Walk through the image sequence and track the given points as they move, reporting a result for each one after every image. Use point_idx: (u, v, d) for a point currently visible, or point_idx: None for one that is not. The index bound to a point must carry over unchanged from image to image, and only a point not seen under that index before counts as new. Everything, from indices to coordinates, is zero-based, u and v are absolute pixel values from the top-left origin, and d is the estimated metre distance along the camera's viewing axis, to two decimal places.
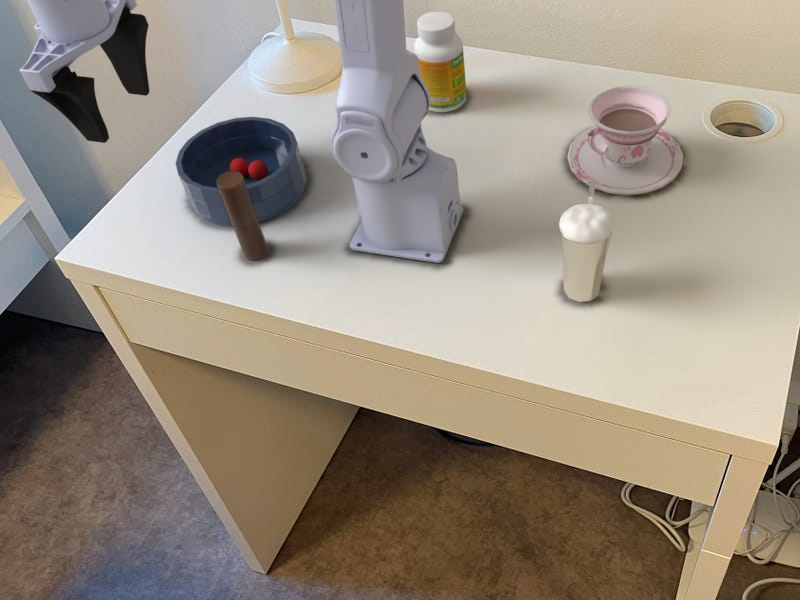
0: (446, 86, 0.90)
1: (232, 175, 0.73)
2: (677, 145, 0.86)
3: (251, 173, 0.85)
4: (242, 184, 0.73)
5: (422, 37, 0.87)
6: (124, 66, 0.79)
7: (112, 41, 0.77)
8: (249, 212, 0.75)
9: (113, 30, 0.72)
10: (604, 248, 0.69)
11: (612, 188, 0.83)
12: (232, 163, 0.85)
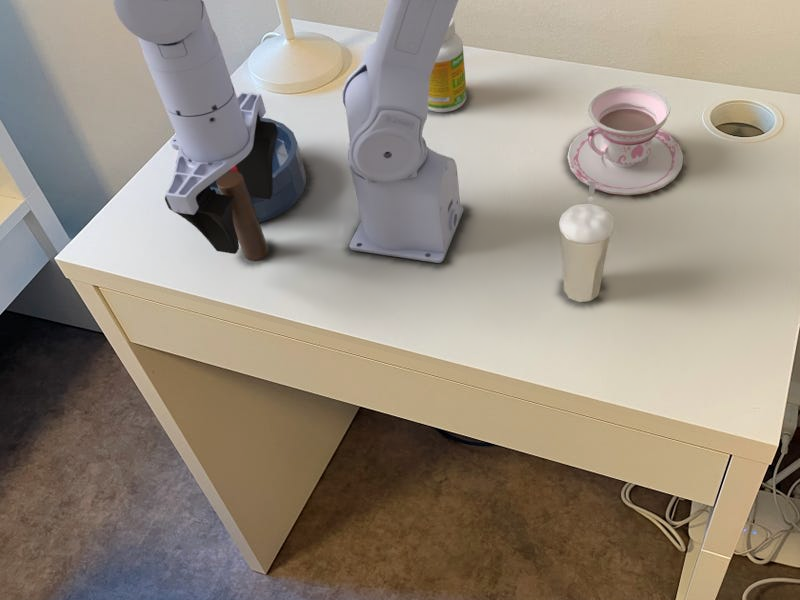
0: (446, 86, 0.90)
1: (232, 175, 0.73)
2: (677, 145, 0.86)
3: None
4: (242, 184, 0.73)
5: None
6: (250, 172, 0.77)
7: None
8: (249, 212, 0.75)
9: (252, 145, 0.70)
10: (604, 248, 0.69)
11: (612, 188, 0.83)
12: None
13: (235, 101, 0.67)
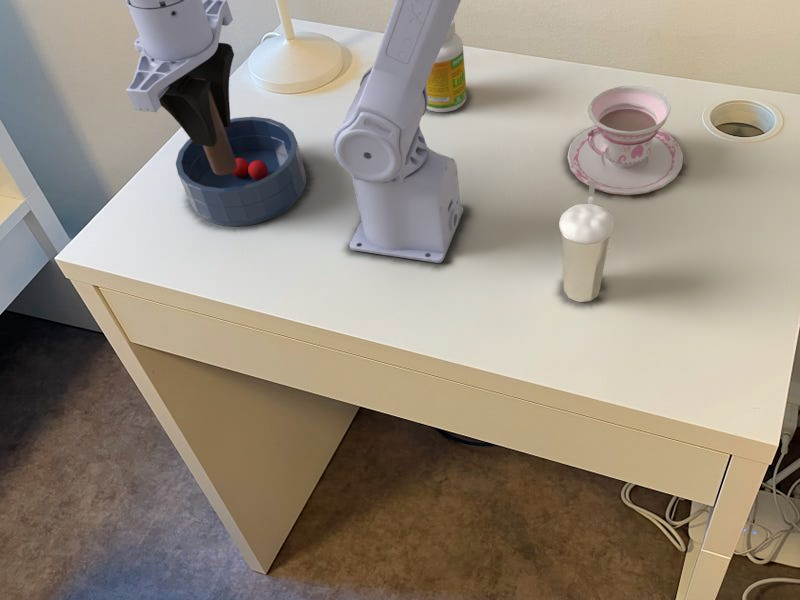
0: (446, 86, 0.90)
1: None
2: (677, 145, 0.86)
3: (251, 173, 0.85)
4: None
5: None
6: None
7: (196, 71, 0.73)
8: (216, 122, 0.74)
9: (216, 47, 0.69)
10: (604, 248, 0.69)
11: (612, 188, 0.83)
12: None
13: None
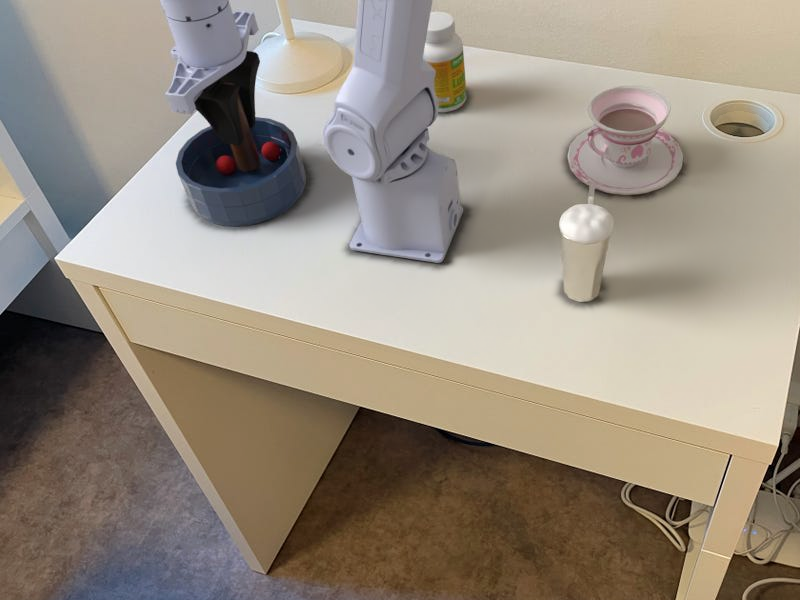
0: (446, 86, 0.90)
1: None
2: (677, 145, 0.86)
3: None
4: None
5: None
6: None
7: (225, 77, 0.80)
8: (243, 122, 0.82)
9: (245, 55, 0.77)
10: (604, 248, 0.69)
11: (612, 188, 0.83)
12: None
13: (229, 10, 0.73)
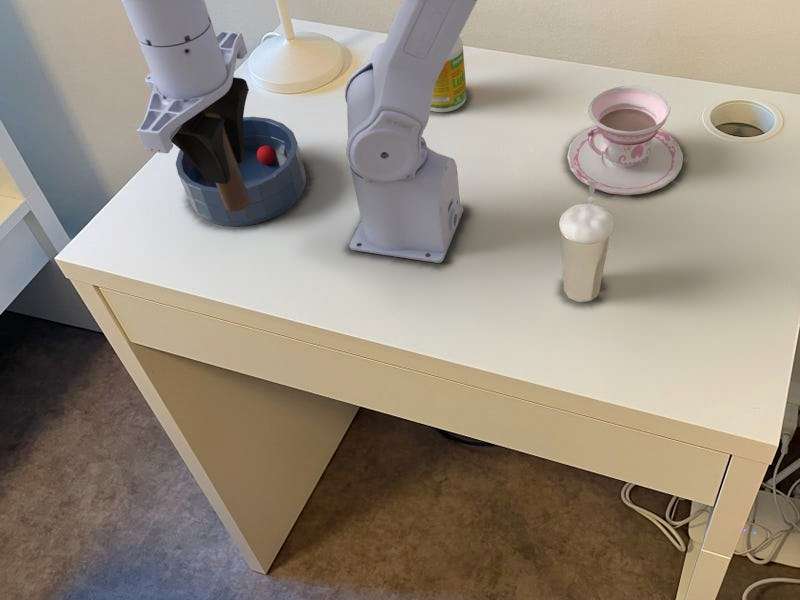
0: (446, 86, 0.90)
1: None
2: (677, 145, 0.86)
3: None
4: None
5: None
6: None
7: (209, 107, 0.70)
8: (229, 158, 0.72)
9: (231, 83, 0.66)
10: (604, 248, 0.69)
11: (612, 188, 0.83)
12: None
13: (212, 33, 0.63)
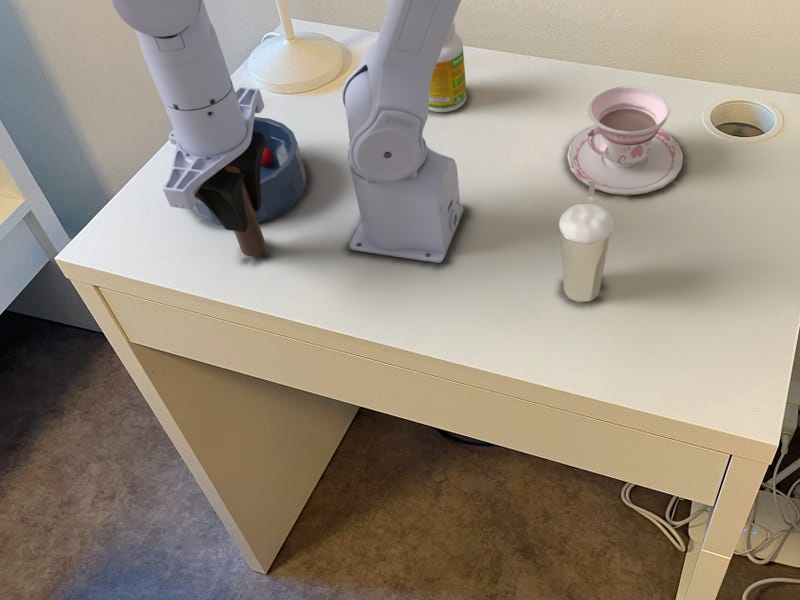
0: (446, 86, 0.90)
1: (229, 170, 0.73)
2: (677, 145, 0.86)
3: None
4: None
5: None
6: None
7: None
8: (247, 208, 0.75)
9: (250, 140, 0.70)
10: (604, 248, 0.69)
11: (612, 188, 0.83)
12: None
13: (233, 95, 0.66)
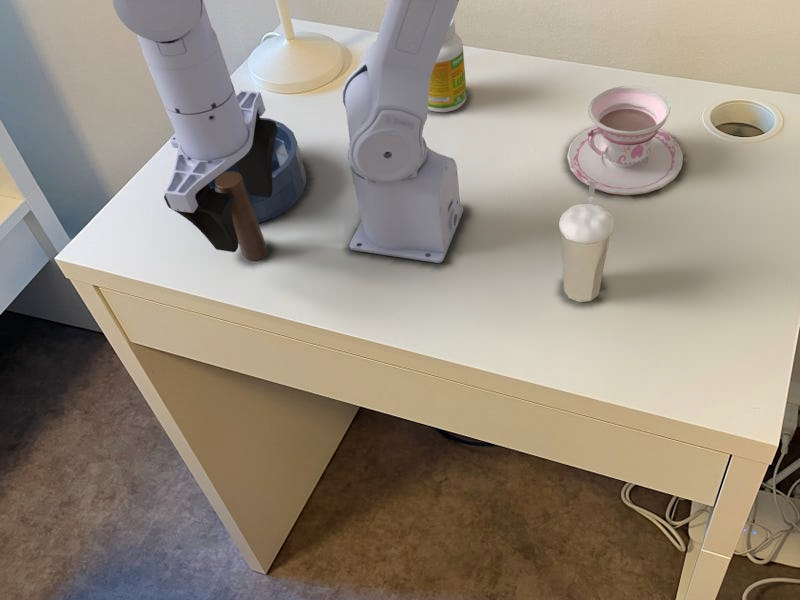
0: (446, 86, 0.90)
1: (231, 175, 0.73)
2: (677, 145, 0.86)
3: None
4: (241, 184, 0.73)
5: None
6: (250, 170, 0.77)
7: None
8: (248, 212, 0.75)
9: (251, 143, 0.70)
10: (604, 248, 0.69)
11: (612, 188, 0.83)
12: None
13: (234, 99, 0.67)
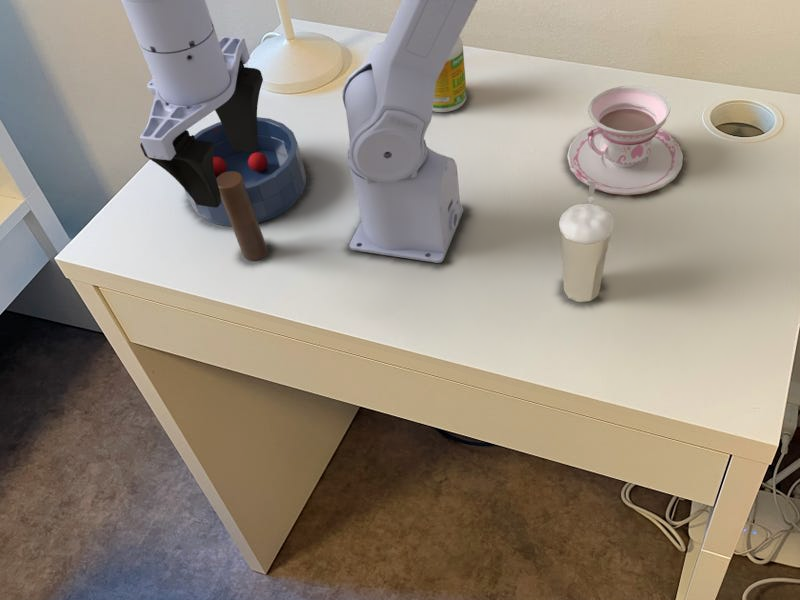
0: (446, 86, 0.90)
1: (231, 175, 0.73)
2: (677, 145, 0.86)
3: None
4: (241, 184, 0.73)
5: None
6: (233, 122, 0.73)
7: None
8: (248, 212, 0.75)
9: (233, 89, 0.66)
10: (604, 248, 0.69)
11: (612, 188, 0.83)
12: None
13: (215, 39, 0.63)
